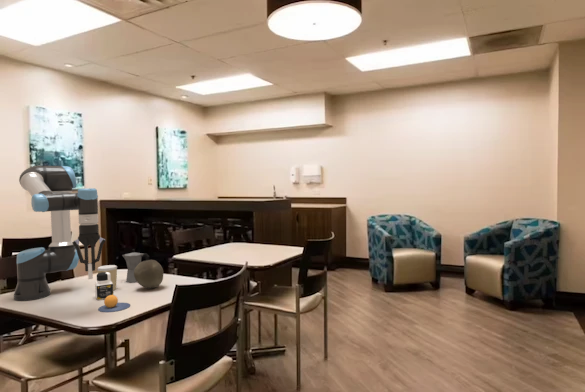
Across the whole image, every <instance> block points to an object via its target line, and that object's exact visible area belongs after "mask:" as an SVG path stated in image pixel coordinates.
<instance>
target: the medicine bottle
mask: <svg viewBox="0 0 585 392" xmlns="http://www.w3.org/2000/svg"><path fill="white" fill-rule="evenodd" d="M94 287H95V288H94V289H95V291H94V292H95V293H94V295H95V296H94V297H95V299H96V300H97V301H102V300H105V298H106V297H107V296H109V295H114V290H113V283H112V282H111V275H110V273H109V272H101V273H98V272H97V274H96V282H95V283H94Z"/></svg>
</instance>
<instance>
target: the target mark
mask: <svg viewBox="0 0 585 392" xmlns="http://www.w3.org/2000/svg"><path fill="white" fill-rule="evenodd" d="M130 307H131V304H130V303H129V302H118V303H117V305H116V306H115V307H112V308H108V307H106V306H105V304H104V305H101V306H99V307H98V309H97V310H98V312H101V313H114V312H121V311H124V310H126V309H128V308H130Z"/></svg>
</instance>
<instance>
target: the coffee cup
mask: <svg viewBox="0 0 585 392" xmlns="http://www.w3.org/2000/svg"><path fill="white" fill-rule="evenodd" d="M117 269H118V266H117V265H115V264H109V265H107V264H106V265H101V266H98V267H97V274H98V273H101V272H109V273H110V275H111V282H112V283H113V291H115V290H116V289H117V279H118V278H117V275H118V270H117Z"/></svg>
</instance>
